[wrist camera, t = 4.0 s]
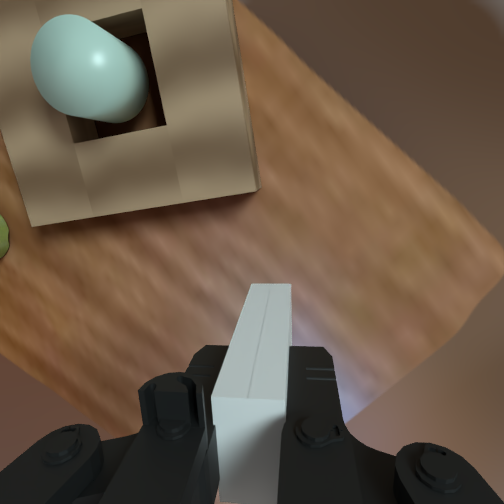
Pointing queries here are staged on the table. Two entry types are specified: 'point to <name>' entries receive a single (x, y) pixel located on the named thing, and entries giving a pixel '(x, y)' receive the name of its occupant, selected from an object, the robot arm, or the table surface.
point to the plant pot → (3, 237)
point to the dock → (139, 142)
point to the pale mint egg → (88, 71)
